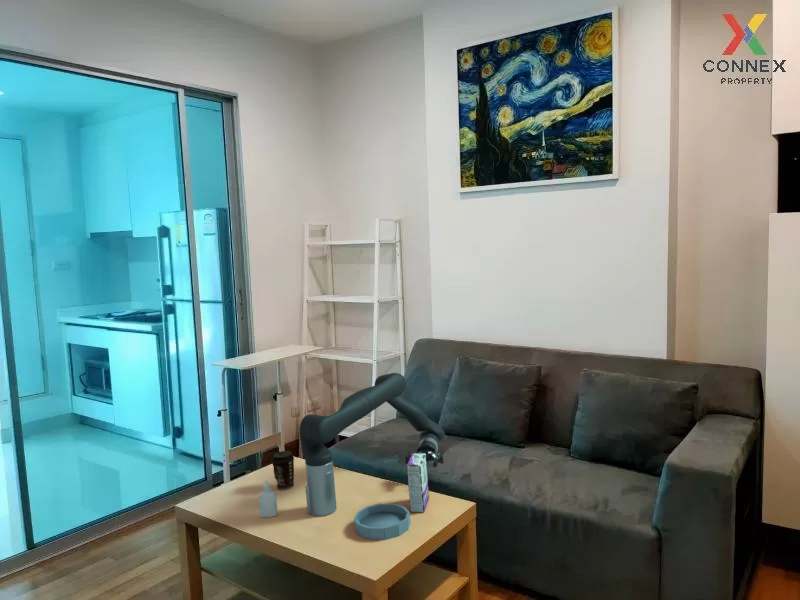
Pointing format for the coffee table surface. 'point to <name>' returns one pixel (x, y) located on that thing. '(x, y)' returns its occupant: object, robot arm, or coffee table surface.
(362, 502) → the coffee table surface
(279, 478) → the coffee cup
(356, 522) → the bowl
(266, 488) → the eye dropper bottle
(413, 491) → the candy bar box
